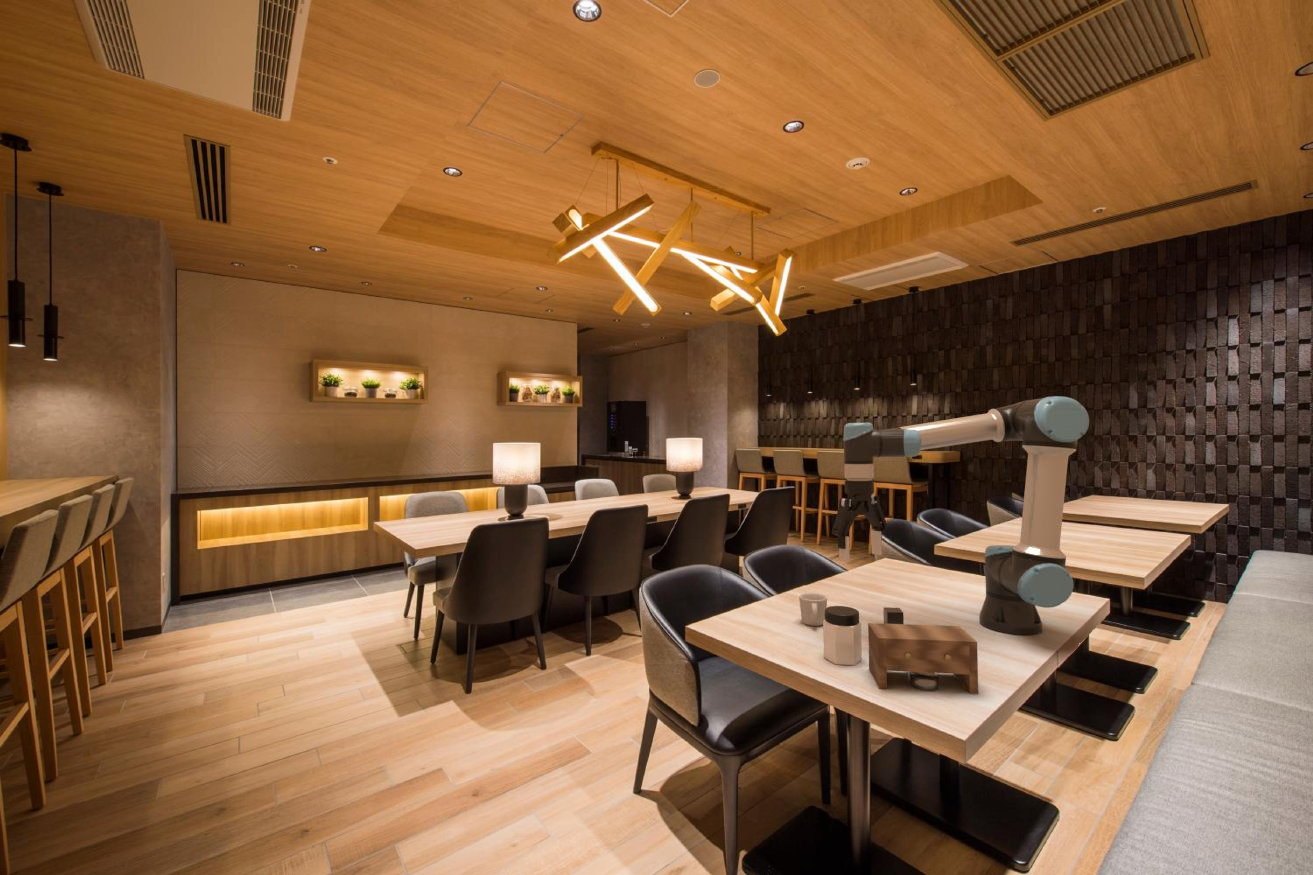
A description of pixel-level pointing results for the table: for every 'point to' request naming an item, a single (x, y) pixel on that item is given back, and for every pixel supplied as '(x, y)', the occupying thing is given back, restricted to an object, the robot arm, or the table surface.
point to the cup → (813, 608)
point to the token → (924, 681)
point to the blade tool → (893, 616)
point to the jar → (842, 635)
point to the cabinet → (922, 652)
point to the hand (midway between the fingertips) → (860, 557)
